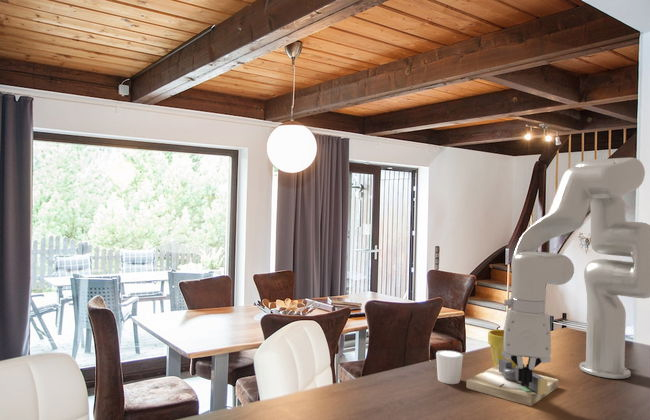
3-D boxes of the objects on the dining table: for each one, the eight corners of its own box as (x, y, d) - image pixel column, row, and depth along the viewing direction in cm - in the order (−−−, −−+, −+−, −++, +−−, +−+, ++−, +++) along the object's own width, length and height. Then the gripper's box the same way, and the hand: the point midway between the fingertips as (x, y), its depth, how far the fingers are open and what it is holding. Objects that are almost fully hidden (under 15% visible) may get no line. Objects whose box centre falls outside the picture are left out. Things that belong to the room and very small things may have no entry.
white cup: (463, 386, 127) (464, 358, 127) (435, 383, 129) (436, 356, 129) (461, 377, 134) (462, 351, 134) (435, 374, 136) (435, 348, 136)
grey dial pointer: (494, 372, 131) (494, 359, 131) (509, 371, 132) (509, 358, 132) (535, 395, 115) (536, 380, 115) (552, 393, 116) (552, 379, 116)
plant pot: (503, 360, 151) (504, 327, 151) (533, 370, 142) (534, 335, 142) (479, 365, 145) (480, 331, 145) (510, 375, 136) (510, 339, 136)
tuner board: (497, 372, 139) (497, 364, 139) (559, 387, 128) (559, 378, 128) (466, 388, 126) (466, 379, 126) (532, 406, 115) (532, 396, 115)
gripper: (494, 306, 117) (491, 385, 116) (565, 312, 112) (562, 394, 112) (493, 301, 124) (490, 375, 124) (559, 306, 120) (556, 384, 119)
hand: (524, 384), depth 118 cm, fingers closed
